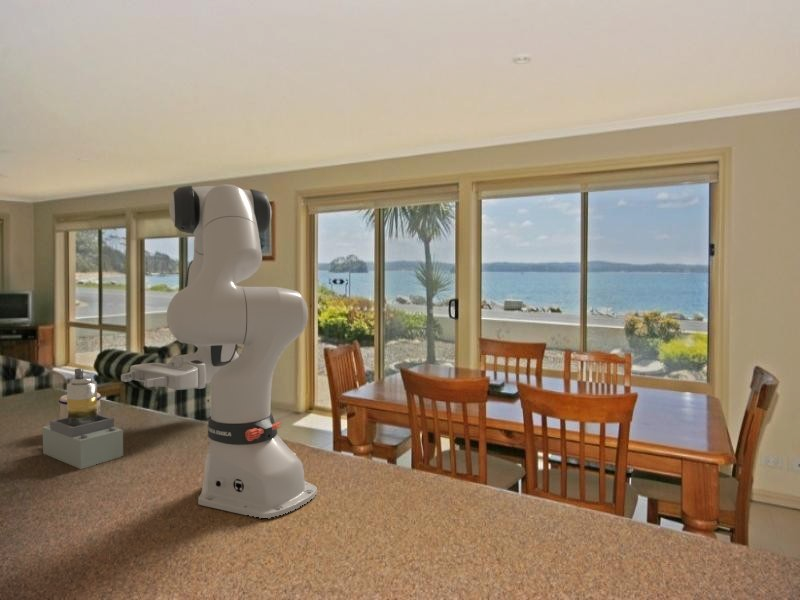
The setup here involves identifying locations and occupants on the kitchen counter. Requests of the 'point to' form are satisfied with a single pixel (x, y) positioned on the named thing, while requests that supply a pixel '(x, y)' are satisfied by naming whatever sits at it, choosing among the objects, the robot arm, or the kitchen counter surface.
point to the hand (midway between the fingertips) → (133, 380)
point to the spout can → (81, 400)
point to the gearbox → (83, 441)
